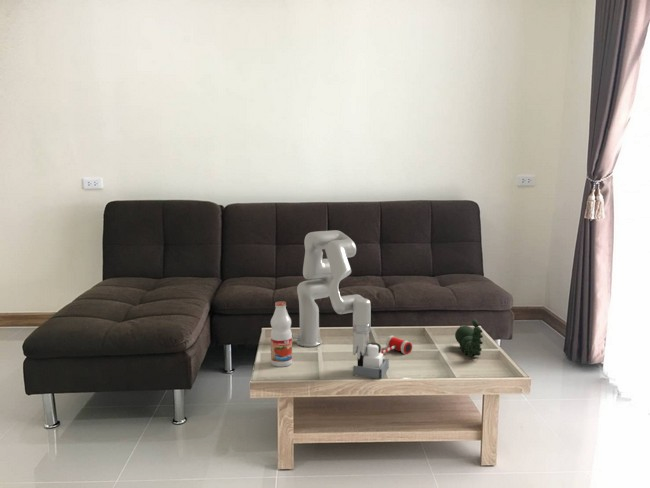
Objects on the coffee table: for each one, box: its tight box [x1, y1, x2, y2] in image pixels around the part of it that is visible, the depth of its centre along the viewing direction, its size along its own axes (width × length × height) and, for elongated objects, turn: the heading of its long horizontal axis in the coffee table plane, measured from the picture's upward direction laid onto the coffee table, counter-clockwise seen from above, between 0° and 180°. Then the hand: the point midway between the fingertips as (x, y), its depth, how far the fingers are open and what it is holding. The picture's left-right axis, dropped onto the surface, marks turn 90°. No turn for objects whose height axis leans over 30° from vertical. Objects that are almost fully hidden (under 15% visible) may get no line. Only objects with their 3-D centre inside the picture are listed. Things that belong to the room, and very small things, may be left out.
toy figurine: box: [454, 318, 484, 357], centre depth 275 cm, size 9×19×25 cm
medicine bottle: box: [363, 342, 384, 368], centre depth 250 cm, size 7×7×12 cm
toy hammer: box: [380, 335, 413, 355], centre depth 273 cm, size 23×12×6 cm, turn 128°
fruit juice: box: [270, 300, 293, 368], centre depth 260 cm, size 9×9×28 cm
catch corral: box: [352, 358, 390, 380], centre depth 250 cm, size 12×13×4 cm
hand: (361, 368), depth 252 cm, fingers closed
